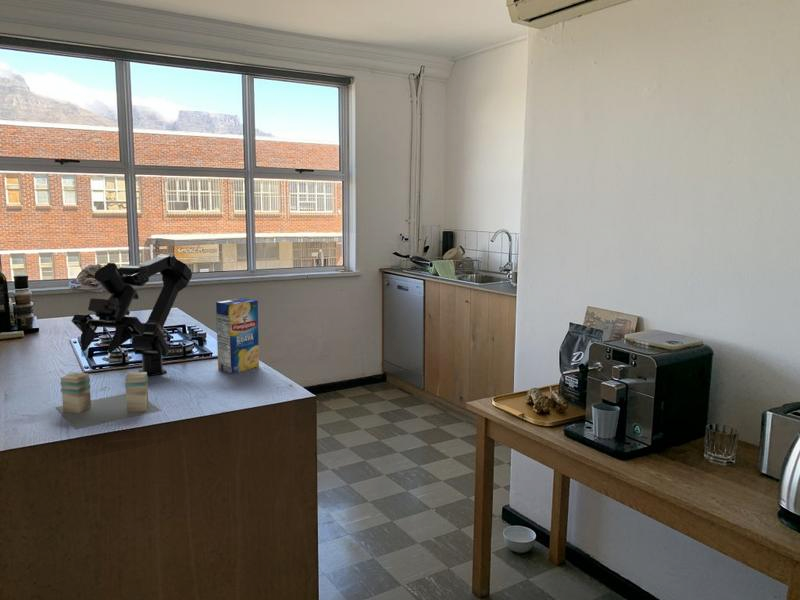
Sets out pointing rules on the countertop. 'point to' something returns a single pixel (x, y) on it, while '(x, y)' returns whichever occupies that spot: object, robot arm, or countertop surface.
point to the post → (136, 391)
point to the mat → (103, 412)
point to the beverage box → (237, 335)
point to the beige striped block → (75, 392)
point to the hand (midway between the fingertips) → (95, 351)
